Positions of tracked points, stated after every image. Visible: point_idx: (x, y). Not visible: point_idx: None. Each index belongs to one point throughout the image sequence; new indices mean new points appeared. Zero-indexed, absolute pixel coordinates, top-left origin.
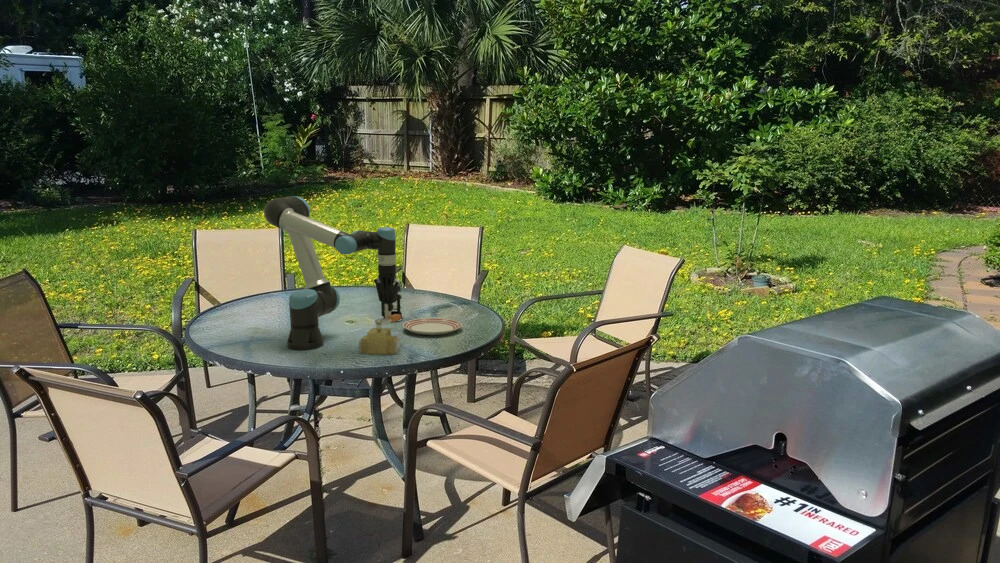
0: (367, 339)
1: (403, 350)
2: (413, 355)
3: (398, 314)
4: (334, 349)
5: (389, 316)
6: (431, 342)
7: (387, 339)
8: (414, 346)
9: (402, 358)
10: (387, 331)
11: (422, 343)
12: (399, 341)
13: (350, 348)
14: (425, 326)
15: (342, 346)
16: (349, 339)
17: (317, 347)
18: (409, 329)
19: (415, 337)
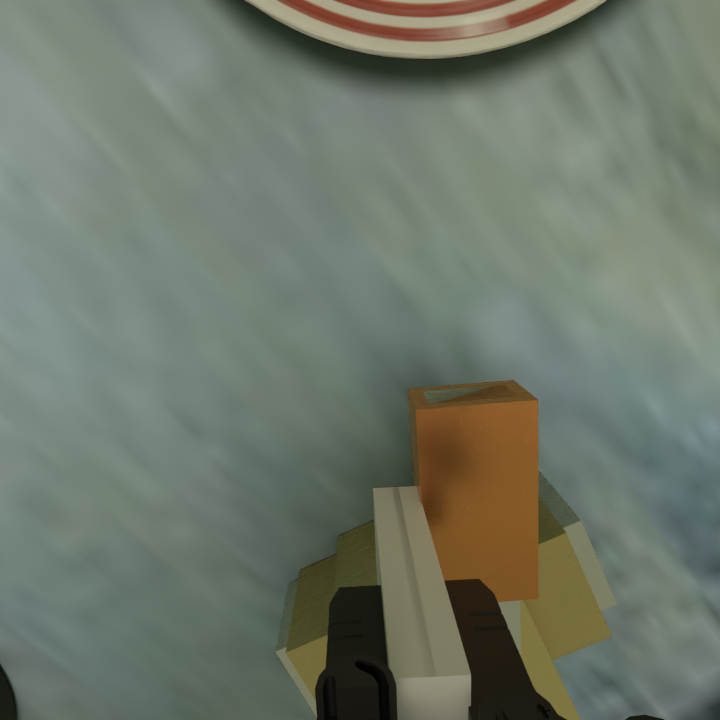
0: None
1: (565, 459)
2: (696, 514)
3: (496, 411)
4: (131, 674)
5: (448, 572)
6: (653, 152)
7: (548, 650)
8: (583, 331)
9: (661, 599)
10: (555, 683)
11: (597, 223)
12: (572, 511)
13: (202, 608)
14: None
15: (118, 602)
16: (8, 447)
17: (13, 711)
18: (352, 47)
19: (433, 89)
